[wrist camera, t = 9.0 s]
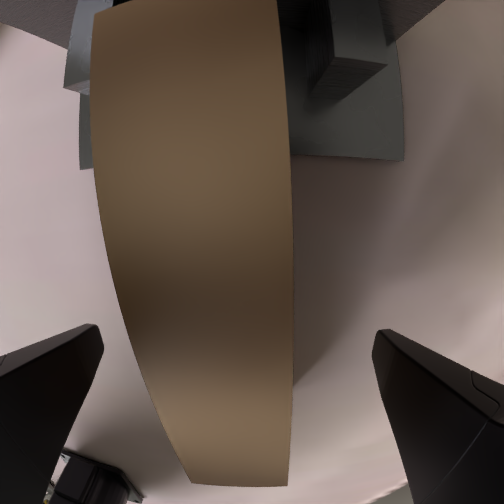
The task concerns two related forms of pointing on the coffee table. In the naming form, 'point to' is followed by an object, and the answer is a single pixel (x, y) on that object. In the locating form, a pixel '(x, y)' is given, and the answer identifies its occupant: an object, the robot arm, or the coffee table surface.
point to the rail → (201, 223)
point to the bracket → (294, 62)
